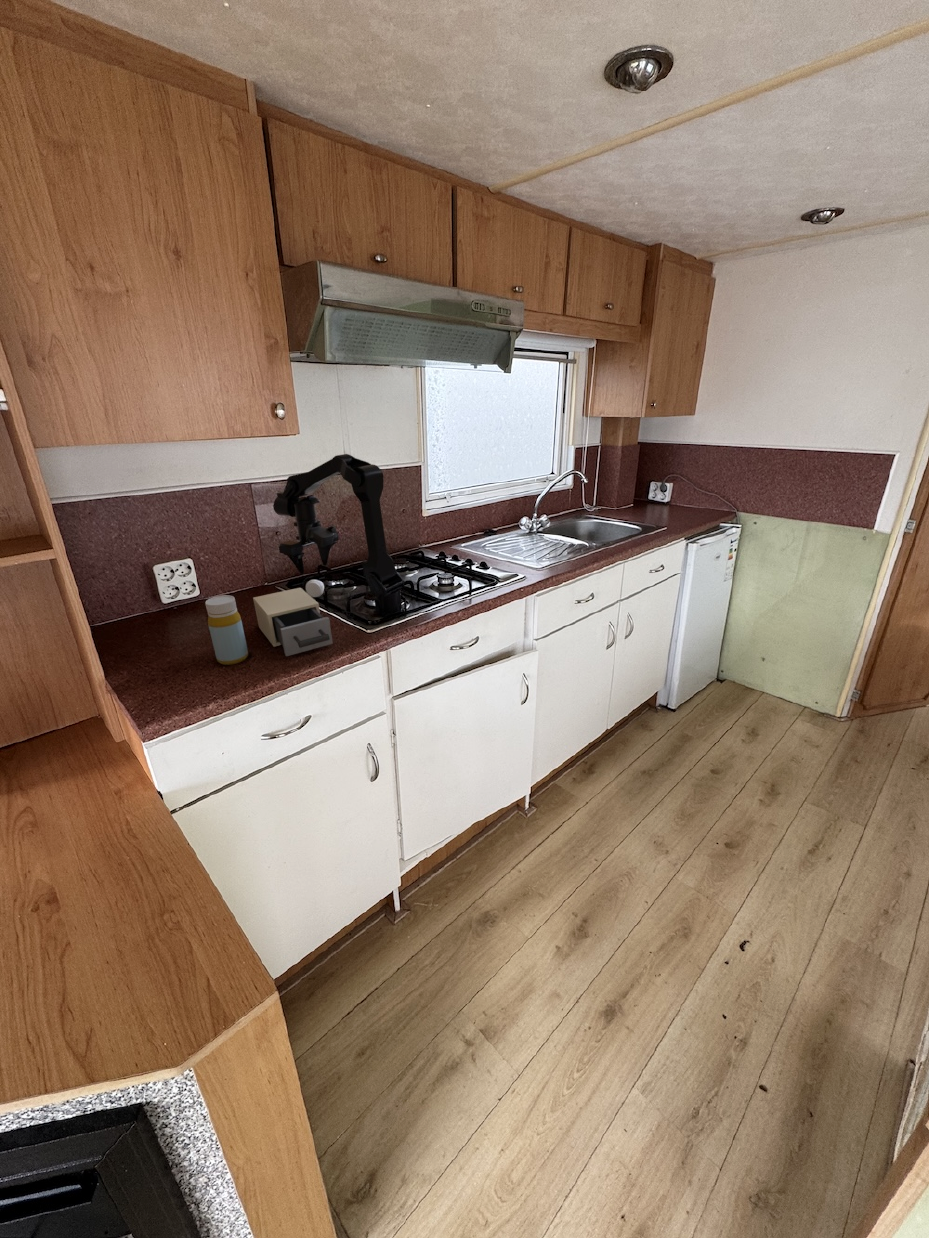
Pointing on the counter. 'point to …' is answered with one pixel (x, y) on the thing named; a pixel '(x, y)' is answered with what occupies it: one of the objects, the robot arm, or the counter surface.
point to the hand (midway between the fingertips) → (313, 569)
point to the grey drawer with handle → (302, 631)
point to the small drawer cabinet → (280, 608)
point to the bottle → (226, 630)
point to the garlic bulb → (314, 588)
